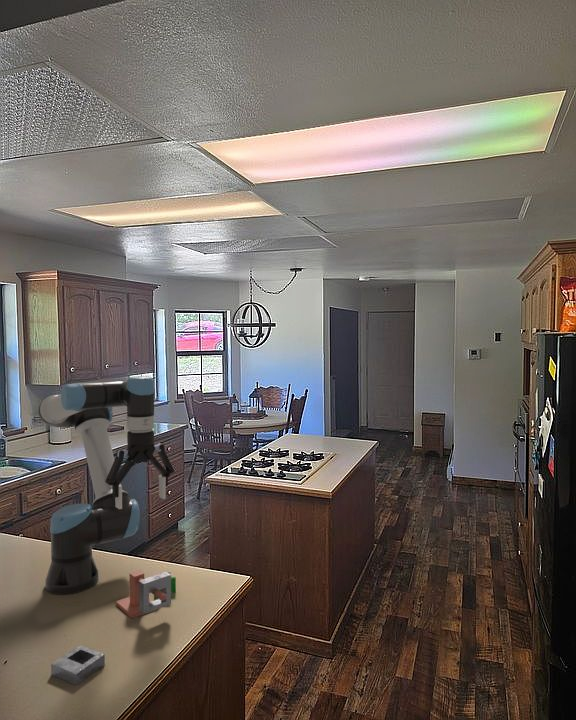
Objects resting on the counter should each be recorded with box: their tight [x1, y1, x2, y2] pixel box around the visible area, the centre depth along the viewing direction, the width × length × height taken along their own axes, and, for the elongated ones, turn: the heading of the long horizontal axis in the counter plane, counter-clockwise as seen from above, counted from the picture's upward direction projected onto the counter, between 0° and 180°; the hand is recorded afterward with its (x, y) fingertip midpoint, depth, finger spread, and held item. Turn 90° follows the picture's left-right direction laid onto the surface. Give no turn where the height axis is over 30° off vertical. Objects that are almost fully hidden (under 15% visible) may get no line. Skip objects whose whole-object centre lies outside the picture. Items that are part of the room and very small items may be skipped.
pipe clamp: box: [153, 571, 177, 601], centre depth 153 cm, size 11×4×5 cm, turn 174°
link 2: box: [139, 571, 172, 615], centre depth 138 cm, size 2×8×8 cm, turn 133°
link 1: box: [50, 644, 106, 686], centre depth 118 cm, size 8×8×2 cm
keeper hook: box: [115, 569, 167, 619], centre depth 142 cm, size 20×8×10 cm, turn 43°
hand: (141, 502), depth 151 cm, fingers open, 13 cm apart
